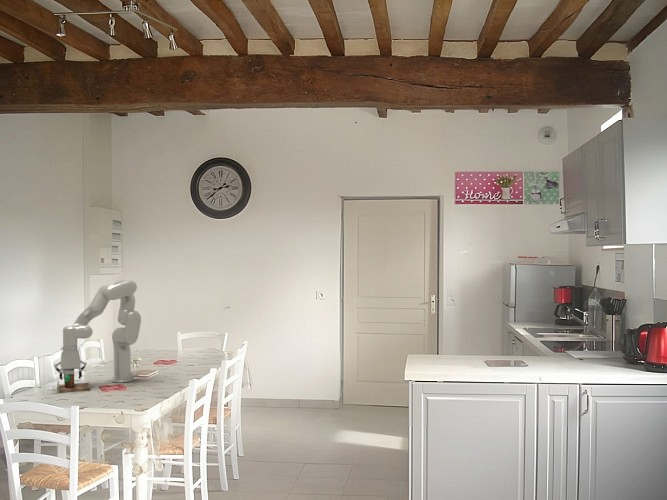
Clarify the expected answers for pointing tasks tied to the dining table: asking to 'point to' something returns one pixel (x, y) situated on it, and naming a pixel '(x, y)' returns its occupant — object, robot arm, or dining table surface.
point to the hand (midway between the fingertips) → (70, 379)
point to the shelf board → (76, 388)
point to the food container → (69, 378)
